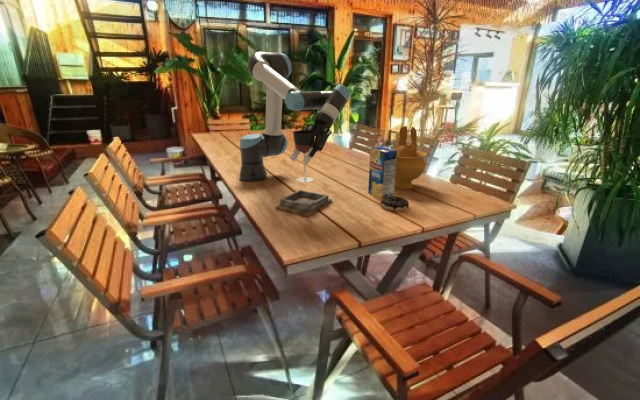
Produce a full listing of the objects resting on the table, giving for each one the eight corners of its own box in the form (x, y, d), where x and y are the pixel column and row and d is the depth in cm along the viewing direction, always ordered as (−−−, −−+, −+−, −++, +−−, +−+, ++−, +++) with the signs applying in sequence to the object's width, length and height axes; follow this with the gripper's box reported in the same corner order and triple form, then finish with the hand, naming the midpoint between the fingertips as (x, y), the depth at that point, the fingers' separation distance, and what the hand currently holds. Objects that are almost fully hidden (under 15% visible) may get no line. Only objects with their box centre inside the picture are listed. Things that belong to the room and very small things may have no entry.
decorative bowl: (373, 185, 170) (376, 126, 160) (394, 177, 185) (399, 122, 174) (410, 195, 157) (417, 131, 146) (430, 185, 171) (437, 126, 161)
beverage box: (381, 200, 150) (385, 152, 143) (368, 193, 160) (370, 147, 152) (393, 197, 153) (397, 150, 146) (379, 191, 163) (382, 146, 155)
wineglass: (294, 177, 143) (293, 130, 136) (314, 176, 144) (314, 130, 137) (294, 182, 136) (293, 133, 129) (316, 181, 136) (315, 133, 130)
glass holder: (276, 209, 140) (275, 200, 138) (302, 195, 156) (302, 188, 155) (307, 216, 132) (307, 207, 131) (332, 201, 148) (332, 193, 147)
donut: (388, 201, 149) (389, 193, 148) (413, 207, 142) (414, 198, 141) (376, 208, 141) (376, 199, 140) (401, 215, 134) (402, 205, 133)
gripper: (348, 125, 136) (320, 170, 130) (314, 121, 149) (288, 162, 144) (339, 112, 130) (310, 159, 125) (305, 109, 144) (277, 152, 139)
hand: (298, 161), depth 135 cm, fingers closed on wineglass, 7 cm apart
